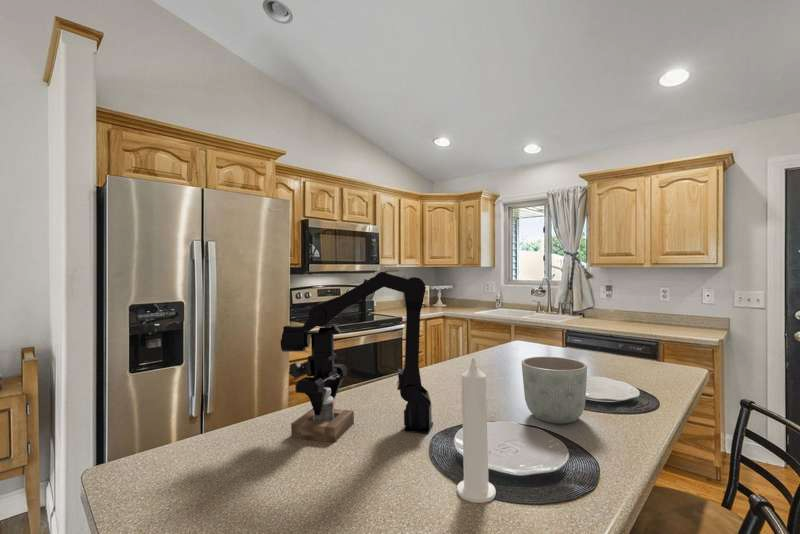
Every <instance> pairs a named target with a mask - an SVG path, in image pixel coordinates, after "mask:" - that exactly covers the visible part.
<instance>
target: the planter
mask: <svg viewBox="0 0 800 534" xmlns="http://www.w3.org/2000/svg"><path fill="white" fill-rule="evenodd" d="M520 364H521V371H522V373H521V374H522V382H523V384H522V385H523V393H524V400H525V404H526V406H527V409H528V410H529V412H530V413H531V414H532V415H533V416H534V417H535V418H537V419H539V420H541V421H543V422H546V423H550V424H557V425H559V424H561V425H563V424H565V425H566V424H570V423H573V422H575V421H577V420H578V419H579V418H580V417H581V416H582V414H583V413H584V410H585V407H586V406H585V405H586V398H587V397H586V396H587V380H588V379H587V378H588V364H587V363H585V362H583V361H580V360H578V359H573V358H569V357H568V358H567V357H562V356H548V355H547V356H531V357H527V358H524V359H522V361H521V363H520Z"/></svg>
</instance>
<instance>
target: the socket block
mask: <svg viewBox="0 0 800 534" xmlns="http://www.w3.org/2000/svg"><path fill="white" fill-rule="evenodd" d="M354 424H355V411H354V410H351V409H348V410H347V409H340V408H339V409H337V408H334V419H333V420H332V421H331V422H330V423H329V422H318V421H313V407H312V408H311V409H310V410H307V412H306V413H304V414H303V415H301V416H299V418H297V419H295V420H294V421H293V422H291V423H290V428H291V429H290V431H291V432H290V433H291V436H290V437H291V438H292V439H293V438H294V439H303V440H312V441H320V442H321V441H322V442H332V443H336V442H337V441H338V440H339V439H340V438H341V437H342V436H343V435H344V434H345V433H346V432H347V431H348V430H349V429H350V428H351V427H352V426H353V425H354Z"/></svg>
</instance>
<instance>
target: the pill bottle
mask: <svg viewBox="0 0 800 534" xmlns="http://www.w3.org/2000/svg"><path fill="white" fill-rule="evenodd" d="M324 389H327V391H326V395H325V398H324V402H323V406H322V409H321V413H320V415H315V413H314V410H313V421H318V422H329V423H330V422H331V421H332V420H333V419H334V409H335V399H334V398H333V397H332V396H330V394H331V388H330V387H325V386H324Z"/></svg>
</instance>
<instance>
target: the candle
mask: <svg viewBox="0 0 800 534" xmlns="http://www.w3.org/2000/svg"><path fill="white" fill-rule="evenodd" d="M470 362H471V363H470V366H469V368H468V369H467V370H466V371H465V372H463V373H462V374H461V404H462V405H461V406H462V407H461V408H462V409H461V411H462V412H461V413H462V416H461V417H462V455H463V456H462V459H463V461H462V463H463V480H461V481H459V482H458V484H457V485H456V486H457V487H456V492H457V494H458V496H459V497H460V498H461V499H463V500H465V501H466V502H468V503H469V502H470V503H474V504H483V503H488V502H491V501H492V500H494V499H495V497H496V493H497V491H496V487H495V486H494V485H493V484H492V483H491V482H489V454H488V453H489V450H488V449H489V447H488V446H489V444H488V443H489V441H488V440H489V439H488V410H487V409H488V405H487V404H488V403H487V401H488V399H487V375H486V374H485V373H484V372H483V371H481V369H479V368H478V366H477V361H476V358H475V357H472V358H471V361H470Z"/></svg>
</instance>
